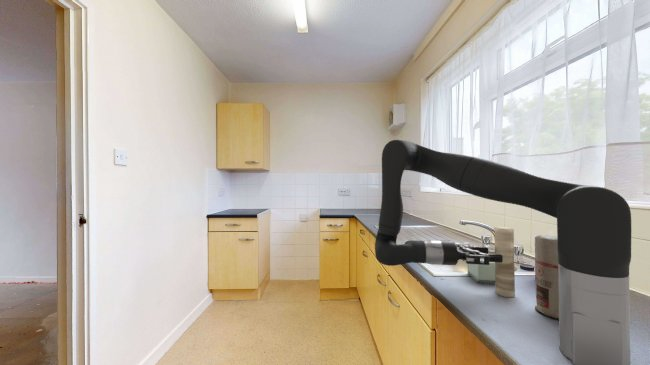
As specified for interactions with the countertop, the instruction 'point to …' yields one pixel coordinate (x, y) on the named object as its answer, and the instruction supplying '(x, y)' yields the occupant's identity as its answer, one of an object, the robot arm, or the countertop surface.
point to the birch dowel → (504, 262)
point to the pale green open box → (482, 272)
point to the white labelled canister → (547, 276)
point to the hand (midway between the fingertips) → (494, 254)
